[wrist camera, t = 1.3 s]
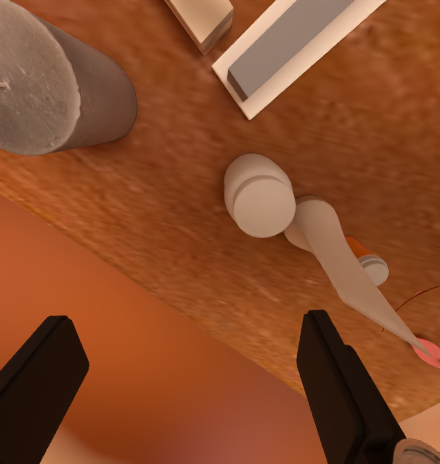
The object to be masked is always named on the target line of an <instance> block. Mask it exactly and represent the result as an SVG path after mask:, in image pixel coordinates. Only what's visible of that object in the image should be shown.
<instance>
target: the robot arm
mask: <svg viewBox="0 0 440 464" xmlns="http://www.w3.org/2000/svg"><path fill="white" fill-rule="evenodd" d="M296 360H297V367H298V371H299V374H300V377H301V380H302V383H303V387H304V390H305V393H306V396H307V399H308V402H309V406H310V409H311V412H312V415H313V418H314V421H315V425H316V428H317V431H318V434H319V437H320V440H321V444H322V447H323V449H324V453H325V456H326V459H327V462H328V464H440V452H438V451H437V450H436V449H434V448H433V447H432V446H430V445H428V444H426V443H424V442H422V441H420V440H416V439H411V438H409V439H407V438H406V436H405V435H404V433H403V431H402V429H401V428H400V426H399V424H398V423H397V421H396V419H395V418H394V416H393V414H392V412H391V411H390V409H389V407H388V406H387V404H386V402H385V401H384V399H383V397H382V396H381V394H380V392H379V390H378V389H377V387H376V385H375V384H374V382H373V380H372V379H371V377H370V375H369V373H368V372H367V370H366V368H365V367H364V365H363V363H362V362H361V360H360V358H359V357H358V355H357V353H356V352H355V350H354V349H353V348H352V347H351V346H350V345H345V344H344V343H343V341H342V339H341V337H340V335H339V334H338V332H337V330H336V328H335V326H334V325H333V323H332V321H331V319H330V317H329V316H328V314H327V312H326V311H325V310H309V311H308V314H304V317H303V323H302V329H301V335H300V341H299V347H298V352H297V359H296ZM88 369H89V361H88V359H87V356H86V354H85V351H84V349H83V347H82V344H81V342H80V339H79V337H78V334H77V332H76V329H75V327H74V324H73V322H72V320H71V319H69V318H68V317H67V316H49V317H47V318H46V319H45V320H44V322H43V323H42V324H41V325H40V326H39V327H38V328H37V330H36V331H35V332H34V333H33V334H32V335H31V337H30V338H29V339H28V340H27V341H26V342H25V343H24V344H23V346H22V347H21V348H20V349H19V350H18V351H17V352H16V353H15V355H14V356H13V357H12V358H11V359H10V360H9V361H8V363H7V364H6V365H5V366H4V367H3V369H1V371H0V464H40V462H41V460H42V458H43V456H44V454H45V452H46V450H47V448H48V447H49V444H50V443H51V441H52V439H53V437H54V435H55V433H56V431H57V429H58V427H59V425H60V424H61V422H62V420H63V417H64V416H65V414H66V412H67V410H68V408H69V406H70V405H71V403H72V401H73V399H74V397H75V395H76V393H77V391H78V389H79V387H80V386H81V384H82V382H83V380H84V378H85V376H86V374H87V372H88Z"/></svg>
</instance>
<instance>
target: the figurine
mask: <svg viewBox="0 0 440 464" xmlns="http://www.w3.org/2000/svg"><path fill="white" fill-rule="evenodd" d="M437 287H440V286H437ZM437 287H434V288H437ZM431 289H433V288H431ZM431 289H429V290H431ZM427 291H428V290H427ZM419 292H421V291H419ZM419 292H418V293H419ZM424 292H426V291H424ZM424 292H422V293H424ZM422 293H420V294H422ZM416 294H417V293H416ZM420 294H418V295H420ZM418 295H416V296H418ZM413 296H414V295H413ZM416 296H415V297H416ZM413 298H414V297H413ZM411 299H412V298H411ZM411 299H410V300H411ZM410 300H408V301H410ZM408 301H407V302H408ZM407 302H405V303H407ZM405 303H404V304H405ZM404 304H403V305H404ZM403 305H401V306H403ZM401 306H400V307H401ZM400 307H399V308H400ZM399 308H398V309H399ZM398 309H397V310H398ZM397 310H396V311H397ZM396 311H395V312H396ZM383 330H384V328H383ZM383 330H382V332H383ZM417 339H418V340H419V341H420V343H421V344H422V345H423V346H424V347H425V348H426V350H427V351H428V352H429V353H430V354H431V355H432V357H433V358H432V357H431V356H429V355H427V354H426V353H424V352H423V351H421V350H419V349H418V348H416V347H415V346H413V345H412V347H413V349H414V351H415V352H416V353H417V354H418V356H419V357H420V358H421V359H422V360H424V361H425V362H427V363H428V364H430V365H432V366H435V367H437V368H439V369H440V348H439V347H438V346H437V345H436V344H434V343H432V342H430V341H428V340H425V339H421V338H417Z"/></svg>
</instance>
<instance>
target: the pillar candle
mask: <svg viewBox="0 0 440 464" xmlns="http://www.w3.org/2000/svg"><path fill="white" fill-rule="evenodd" d="M136 113H137V99H136V94H135V90H134V88H133V86H132V83H131V82H130V80H129V78H128V77H127V75H126V74H125V72H124V71H123V70H122V68H121V67H120V66H119V65H118V64H117V63H116V62H114V61H113V60H112V59H111V58H109V57H108V56H106V55H104V54H103V53H101V52H99V51H98V50H96V49H94V48H92V47H90V46H89V45H87V44H85V43H83V42H82V41H80V40H78V39H76V38H75V37H73V36H71V35H69V34H68V33H66V32H64V31H63V30H61V29H60V28H59V27H55V26H54V25H52V24H50V23H49V22H47V21H45V20H42V19H41V18H39V17H37V16H36V15H34V14H32V13H31V12H29V11H27V10H26V9H24V8H23V7H21V6H19V5H17V4H15V3H13V2H11V1H10V0H0V148H1V149H3V150H6V151H9V152H12V153H15V154H21V155H28V156H36V155H43V154H49V153H54V152H60V151H65V150H70V149H75V148H80V147H85V146H91V145H96V144H101V143H106V142H111V141H115V140H118V139H120V138H122V137H123V136H124V135H126V134H127V133H128V132H129V130H130V129H131V127H132V126H133V124H134V121H135V119H136Z"/></svg>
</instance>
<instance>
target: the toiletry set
mask: <svg viewBox="0 0 440 464" xmlns="http://www.w3.org/2000/svg"><path fill="white" fill-rule="evenodd" d="M224 199H225V205H226V208H227V211H228V212H229V214H230V215H231V217H232V218H233V219H234V220H235V221H236V223H237V224H238V226H239V227H240V229H241V230H243V231H244V232H245V233H246V234H249V235H251V236H254V237H259V238H264V237H271V236H274V235H276V234H278V233H280V232H283V234H284V235H285V237H286V238H287V240H288V241H289V242H290V243H291V244H293V245H295V246H297V247H299V248H302V249H304V250H307V251H309V252H312V253H313V254H314V256H315V257H316V258H317V260H318V261H319V262H320V264H321V265H322V267H323V269H324V270H325V272H326V274H327V276H328V277H329V279H330V281H331V283H332V284H333V286H334V288H335V290H336V291H337V293H338V295H339V297H340V299H341V300H342V301H343V302H344V303H346V304H347V305H349V306H350V307H352V308H354V309H355V310H357V311H358V312H360V313H362V314H363V315H365V316H366V317H368V318H370V319H371V320H373V321H374V322H376V323H378V324H379V325H381V326H382V327H384V328H386V329H387V330H389V331H390V332H392V333H394V334H395V335H397V336H399V337H400V338H402V339H403V340H405V341H407V342H408V343H410V344H411V345H413V346H415V347H416V348H418V349H419V350H421V351H423V352H424V353H426V354H427V355H429V356H431V357H432V355H431V354H430V353H429V352H428V351H427V350H426V348H425V347H424V346H423V345H422V344H421V343H420V341H419V340H418V339H417V338H416V337H415V336H414V334H413V333H412V332H411V331H410V329H409V328H408V327H407V326H406V324H405V323H404V322H403V321H402V320H401V318H400V317H399V316H398V315H397V313H396V312H395V311H394V310H393V308H392V307H391V306H390V304H389V303H388V302H387V300H386V299H385V298H384V296H383V295H382V293H381V292H380V291H379V289H378V288H377V287H376V286H378V285H380V284H382V283H383V282H384V281H385V280H386V279H387V277H388V274H389V270H388V267H387V264H386V263H385V262H384V261H383V259H382V258H381V257H380V256H378V255H375V254H372V253H371V252H370V251H369V250H368V249H366V248H365V247H364V246H363V245H362V244H361V243H360V242H358V241H357V240H356V239H355V238H353V237H351V236H345V237H344V235H343V232H342V229H341V226H340V223H339V219H338V217H337V214H336V212H335V210H334V208H333V207H332V206H331V205H330V204H329V203H328V202H326V201H325V200H323V199H322V198H320V197H318V196H313V195H304V196H300V197H297V198H294V196H293V191H292V185H291V182H290V180H289V178H288V176H287V175H286V174H285V173H284V172H283V171H282V170H281V169H280V168H279V167H278V166H277V165H276V164H275V163H274V162H273V161H271V160H270V159H268V158H267V157H265V156H263V155H260V154H255V153H250V154H244V155H241V156H239V157H238V158H236V159H235V160H233V162H232V163H231V164H230V165H229V166H228V168H227V170H226V173H225V177H224ZM432 358H433V357H432Z"/></svg>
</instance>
